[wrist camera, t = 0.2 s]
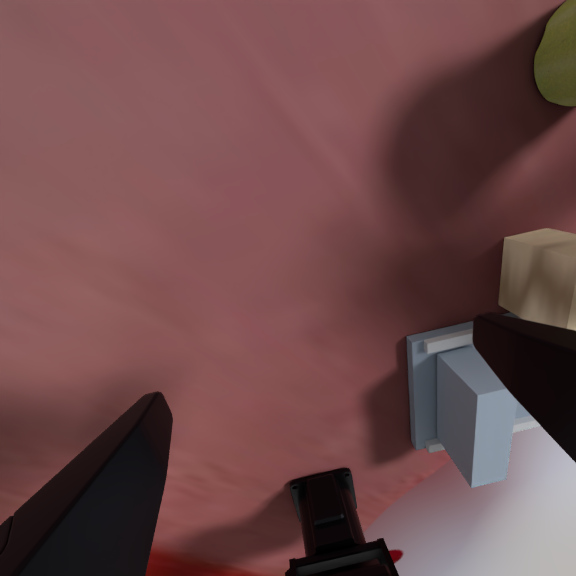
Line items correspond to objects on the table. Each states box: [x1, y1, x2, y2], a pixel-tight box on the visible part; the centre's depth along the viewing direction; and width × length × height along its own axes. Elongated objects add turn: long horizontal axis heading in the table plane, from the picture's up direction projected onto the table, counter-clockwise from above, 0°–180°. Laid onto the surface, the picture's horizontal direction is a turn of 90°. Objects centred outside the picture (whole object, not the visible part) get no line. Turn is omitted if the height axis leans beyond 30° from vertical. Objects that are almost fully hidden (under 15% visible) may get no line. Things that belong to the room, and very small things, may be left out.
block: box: [498, 228, 576, 331], centre depth 22 cm, size 6×4×6 cm, turn 11°
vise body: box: [406, 312, 541, 453], centre depth 26 cm, size 13×26×6 cm, turn 101°
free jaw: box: [437, 346, 517, 488], centre depth 25 cm, size 10×4×5 cm, turn 11°
